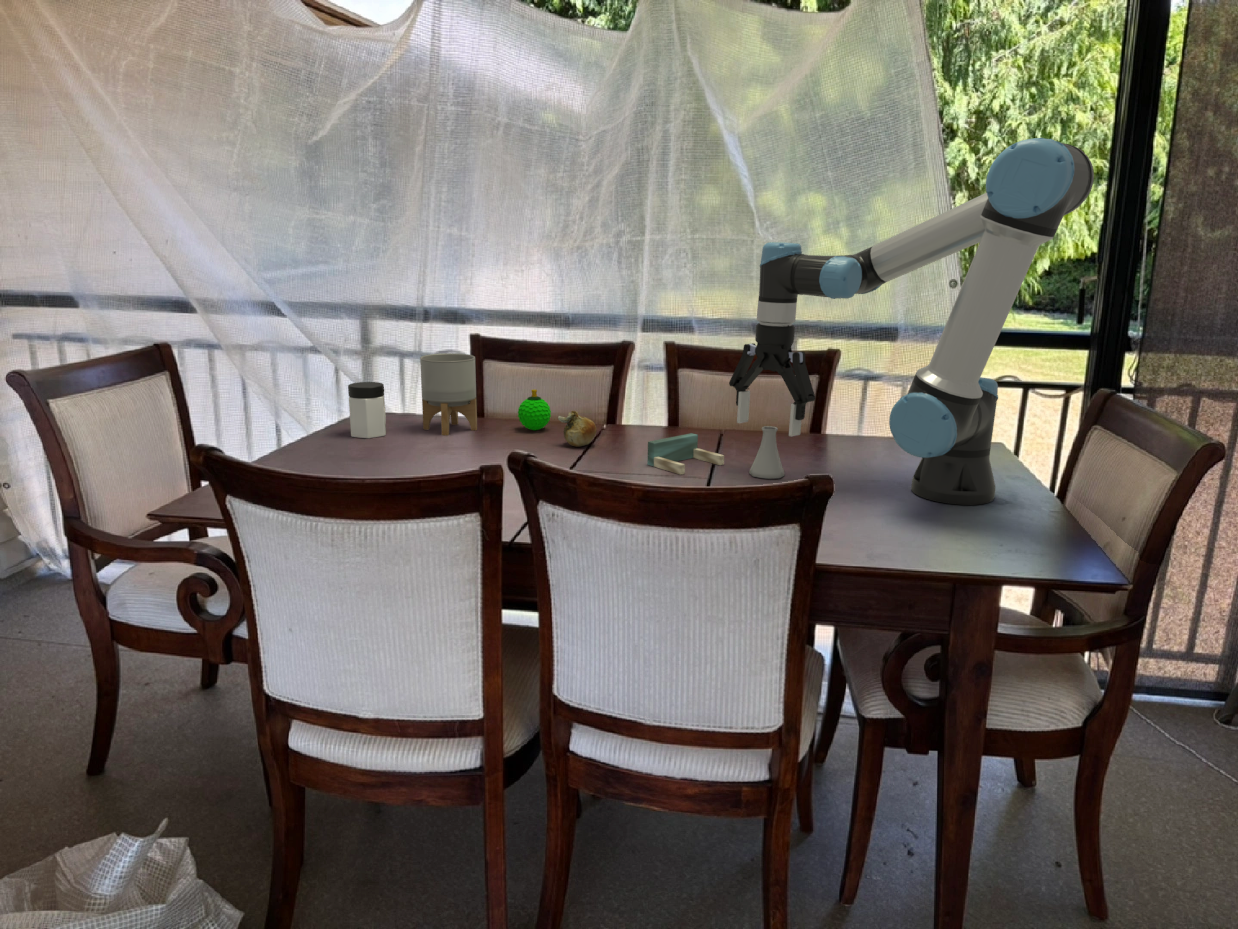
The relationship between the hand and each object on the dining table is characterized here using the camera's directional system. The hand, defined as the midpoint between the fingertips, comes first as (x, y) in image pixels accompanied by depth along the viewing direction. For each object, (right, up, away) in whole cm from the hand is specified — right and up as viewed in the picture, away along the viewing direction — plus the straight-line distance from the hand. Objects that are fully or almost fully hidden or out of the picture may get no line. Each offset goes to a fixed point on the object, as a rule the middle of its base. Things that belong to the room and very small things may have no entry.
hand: (767, 428), depth 182 cm
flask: (0, -10, +2) cm, 10 cm away
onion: (-39, -3, +24) cm, 46 cm away
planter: (-72, +1, +38) cm, 81 cm away
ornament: (-51, +1, +39) cm, 64 cm away
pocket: (-16, -7, +9) cm, 20 cm away
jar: (-90, 0, +32) cm, 95 cm away
